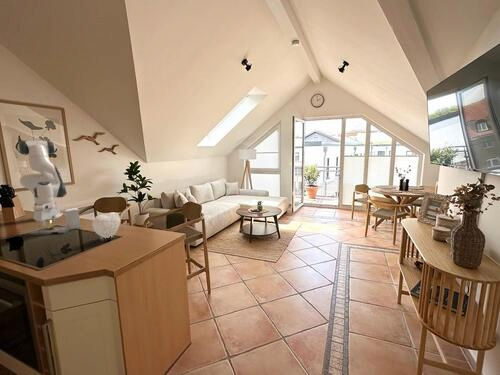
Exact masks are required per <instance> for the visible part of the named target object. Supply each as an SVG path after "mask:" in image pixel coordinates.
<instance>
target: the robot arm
mask: <svg viewBox="0 0 500 375" xmlns="http://www.w3.org/2000/svg"><path fill="white" fill-rule="evenodd" d="M56 148H57V147H56V145H55V143H54V142H53V141H49V140H21V141H19V142H18V144H17V150H18V152H19V153H20V154H21V155H25V156H28V159H29V160H28V161H29V165H30V166H29V167H30V169H31V170H32V171H35V172H38V173H30V174H29V173H28V174H24V175H22V176H21V177H20V179H19V183H20V185H21V186H22V187H24V188H26V189H27V190H29V191H30V192H31V193H32V195H33V199H34V204H33V205H34V206H33V207H32V208H33V217H32V220H34V221H36V222H40V223H41V226H42V227H46V225H47V224H46V221H47V220H52V223H54V222H56V219H58V218H60V217H61V216H63V215H64V213H63V212H60V211H61V210H60V209H59V206H58V204H57V202H56V201H55V198H63V197H65V196H66V195H67V194H68V193H67V192H68V189H67V187H66V186H65V184H64V182H63V179H62V176H61V175H60V172H59V170H58V167H57V166H56V164H54V163H52V162H51V161H50V158H49V155H53V154H55V152H56Z"/></svg>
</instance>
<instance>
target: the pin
mask: <svg viewBox="0 0 500 375" xmlns="http://www.w3.org/2000/svg"><path fill="white" fill-rule="evenodd" d="M45 223H46V224H47V225H46V226H45V228H47V230H52V229H53V228H52V227H53V222H52V220H51V219H49V220H45Z"/></svg>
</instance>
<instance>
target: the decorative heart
mask: <svg viewBox="0 0 500 375" xmlns="http://www.w3.org/2000/svg"><path fill="white" fill-rule="evenodd" d="M91 224H92V229H93V231H94V233H96V235H98V236H99V237H100V240H101V239H102V240H103V239H104V238H105V239H106V238H109V237H110V236H111V238H113V237H114V236H115V234H116V232H118V229H119V228H120V224H121V216H120V215H119V214H118V213H117V212H114V211H113V212H108V213H106V214H105V215H104V214H100V215H99V214H98V215H97V216H95V217H94V218H93V220H92V222H91ZM113 235H114V236H113Z"/></svg>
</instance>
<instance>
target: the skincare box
mask: <svg viewBox="0 0 500 375" xmlns="http://www.w3.org/2000/svg"><path fill="white" fill-rule="evenodd" d="M64 214H65V220H66V227H69V228H70V229H69V231H70V230H75V229H81V219H80V212H79V208H78V207H74V208H70V209H64Z"/></svg>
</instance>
